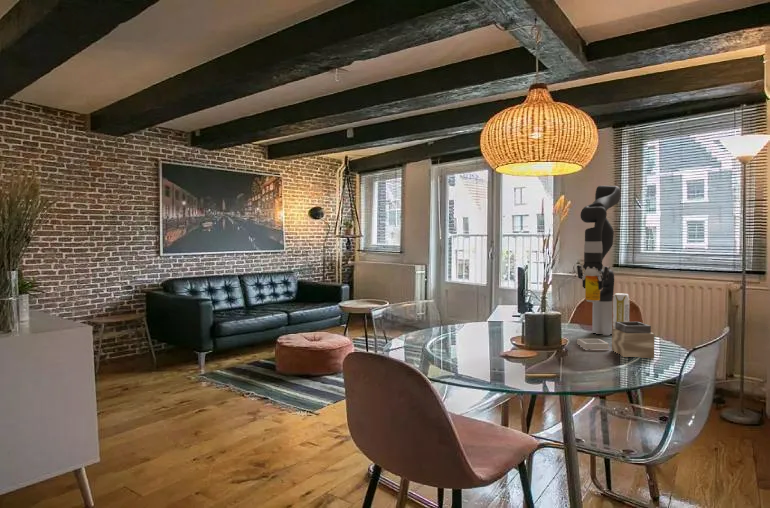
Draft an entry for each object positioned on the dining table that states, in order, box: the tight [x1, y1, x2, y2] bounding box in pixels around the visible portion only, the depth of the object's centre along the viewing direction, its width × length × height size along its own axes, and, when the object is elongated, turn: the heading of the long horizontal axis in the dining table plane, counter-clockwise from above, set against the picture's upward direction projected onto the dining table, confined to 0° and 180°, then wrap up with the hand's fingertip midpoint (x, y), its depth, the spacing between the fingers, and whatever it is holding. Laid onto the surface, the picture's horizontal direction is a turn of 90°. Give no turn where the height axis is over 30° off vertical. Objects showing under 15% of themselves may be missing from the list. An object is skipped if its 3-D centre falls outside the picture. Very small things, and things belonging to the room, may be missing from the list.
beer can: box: [584, 268, 601, 303], centre depth 217 cm, size 6×6×15 cm
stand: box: [611, 321, 656, 359], centre depth 205 cm, size 12×12×13 cm
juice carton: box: [612, 292, 630, 328], centre depth 259 cm, size 8×9×19 cm
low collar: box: [576, 338, 610, 349], centre depth 218 cm, size 10×10×3 cm
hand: (592, 288), depth 217 cm, fingers closed on beer can, 6 cm apart
